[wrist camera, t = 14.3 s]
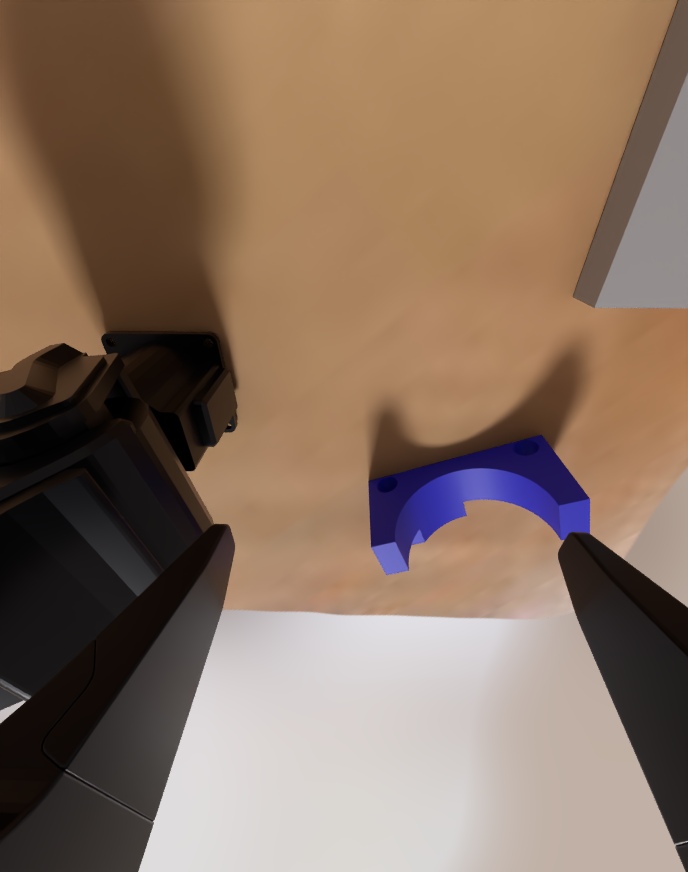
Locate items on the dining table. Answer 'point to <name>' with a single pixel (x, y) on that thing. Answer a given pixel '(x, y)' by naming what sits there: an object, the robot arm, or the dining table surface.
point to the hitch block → (648, 197)
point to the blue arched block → (472, 496)
